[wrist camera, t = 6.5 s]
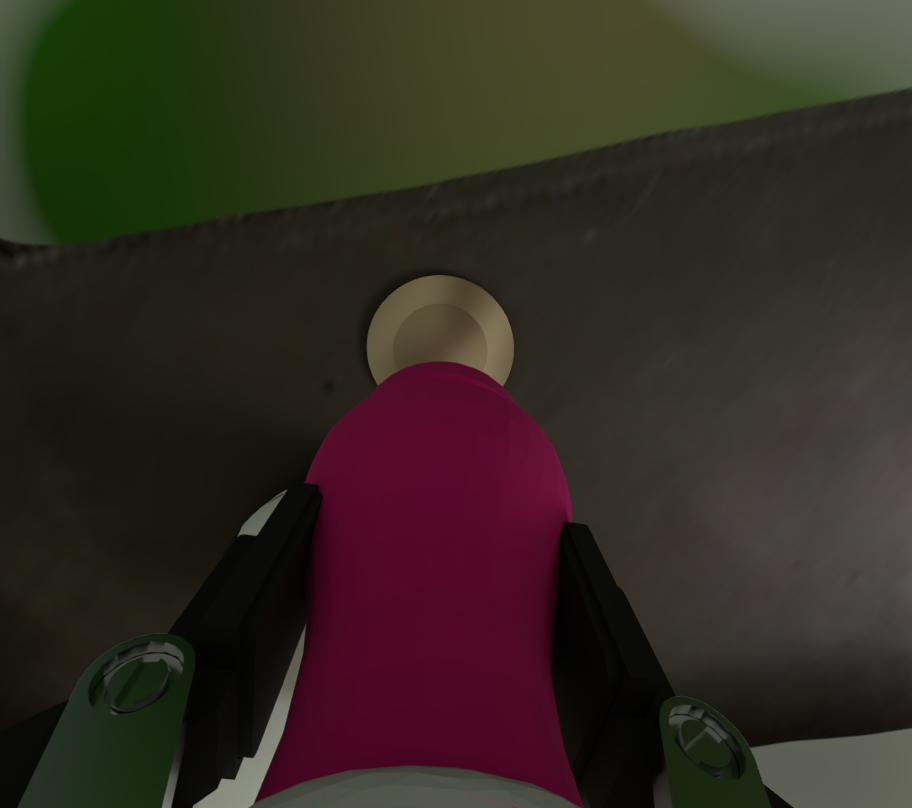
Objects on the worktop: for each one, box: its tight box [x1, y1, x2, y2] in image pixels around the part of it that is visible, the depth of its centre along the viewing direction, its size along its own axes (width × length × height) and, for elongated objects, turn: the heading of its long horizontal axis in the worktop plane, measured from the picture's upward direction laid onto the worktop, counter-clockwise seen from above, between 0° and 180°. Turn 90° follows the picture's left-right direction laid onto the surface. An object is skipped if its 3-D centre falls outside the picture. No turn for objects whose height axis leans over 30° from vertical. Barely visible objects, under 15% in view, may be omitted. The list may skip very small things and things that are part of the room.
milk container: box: [198, 482, 306, 808], centre depth 28 cm, size 17×17×18 cm
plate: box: [367, 275, 514, 386], centre depth 30 cm, size 10×10×1 cm
